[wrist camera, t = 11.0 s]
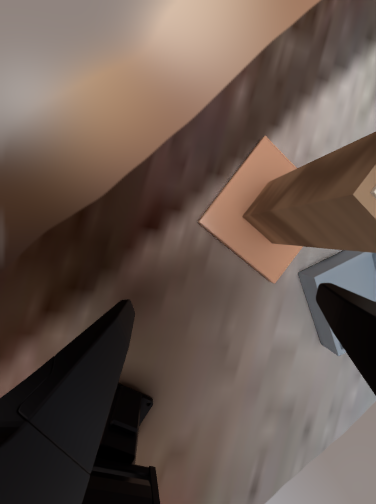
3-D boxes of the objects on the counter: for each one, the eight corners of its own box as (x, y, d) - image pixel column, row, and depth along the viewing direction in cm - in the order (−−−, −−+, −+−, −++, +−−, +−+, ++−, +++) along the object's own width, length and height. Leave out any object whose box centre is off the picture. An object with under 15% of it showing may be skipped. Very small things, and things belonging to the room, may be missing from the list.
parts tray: (321, 344, 25) (338, 356, 23) (298, 272, 24) (314, 277, 21) (385, 309, 26) (408, 317, 24) (367, 238, 25) (390, 239, 22)
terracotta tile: (269, 281, 23) (274, 283, 22) (197, 222, 21) (199, 221, 20) (326, 207, 23) (333, 205, 22) (260, 140, 21) (265, 135, 20)
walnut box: (272, 243, 21) (413, 256, 10) (242, 216, 21) (356, 193, 9) (297, 210, 22) (470, 181, 10) (268, 181, 21) (418, 111, 9)
